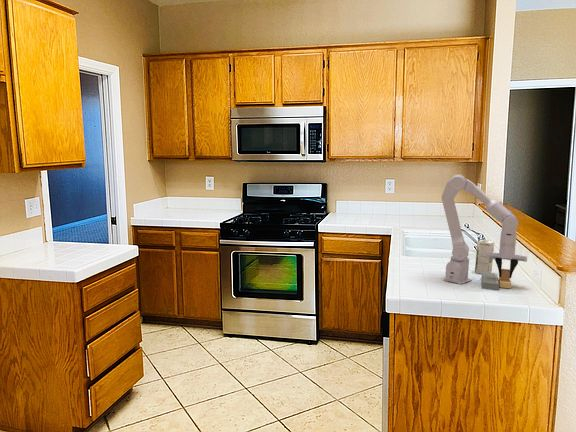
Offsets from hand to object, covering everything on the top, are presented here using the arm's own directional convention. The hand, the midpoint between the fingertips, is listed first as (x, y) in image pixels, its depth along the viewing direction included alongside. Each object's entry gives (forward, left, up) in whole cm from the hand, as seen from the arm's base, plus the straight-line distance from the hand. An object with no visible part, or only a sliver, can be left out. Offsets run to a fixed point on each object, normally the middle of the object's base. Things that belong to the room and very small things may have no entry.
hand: (504, 277), depth 189 cm
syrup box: (+13, +15, -4) cm, 20 cm away
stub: (0, 0, -3) cm, 3 cm away
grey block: (-3, +5, -3) cm, 6 cm away
